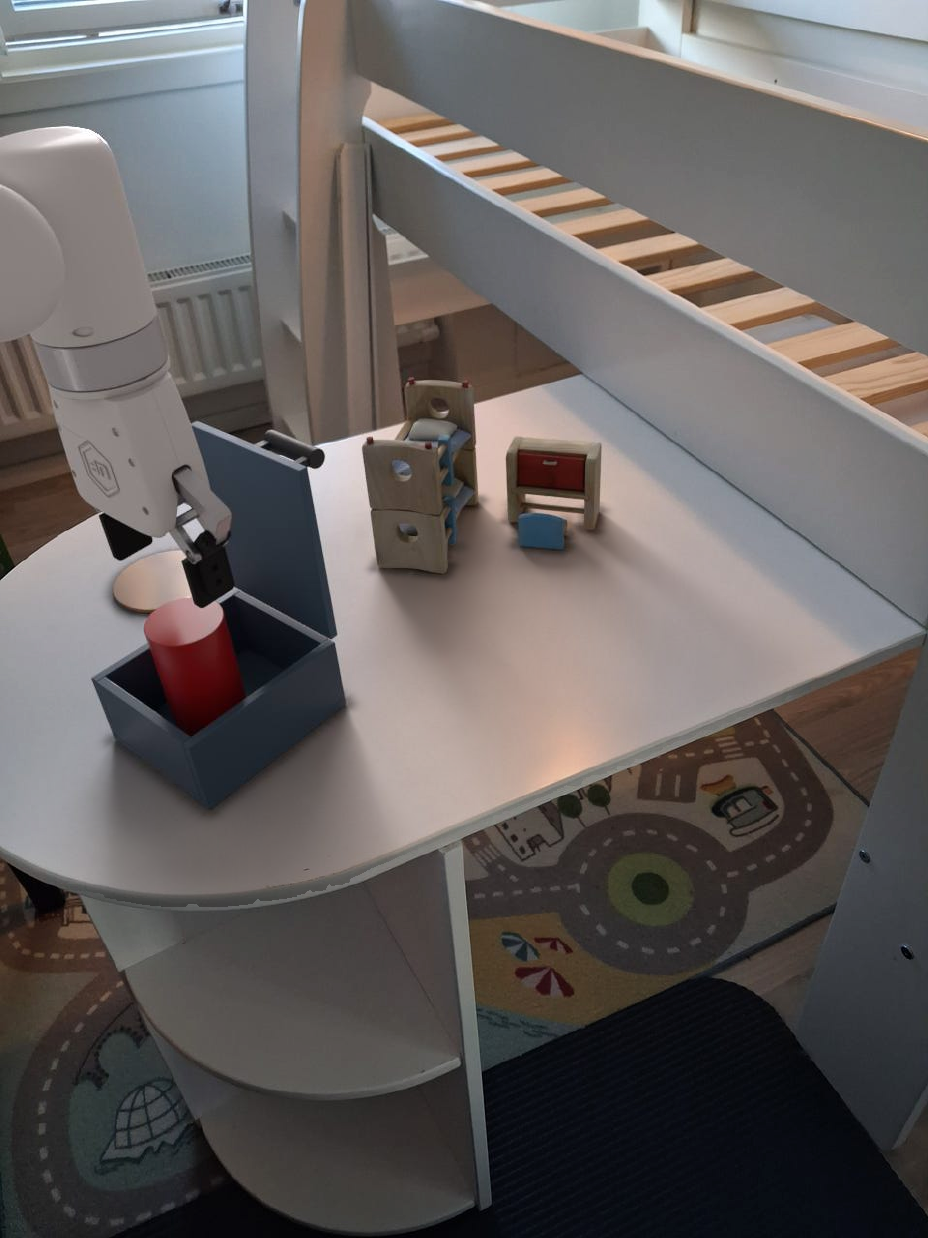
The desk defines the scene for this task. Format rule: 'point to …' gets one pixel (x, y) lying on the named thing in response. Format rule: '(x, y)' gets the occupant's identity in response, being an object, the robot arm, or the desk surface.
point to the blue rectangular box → (250, 731)
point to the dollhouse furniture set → (465, 480)
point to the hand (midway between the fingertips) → (173, 573)
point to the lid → (271, 521)
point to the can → (194, 662)
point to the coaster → (152, 582)
